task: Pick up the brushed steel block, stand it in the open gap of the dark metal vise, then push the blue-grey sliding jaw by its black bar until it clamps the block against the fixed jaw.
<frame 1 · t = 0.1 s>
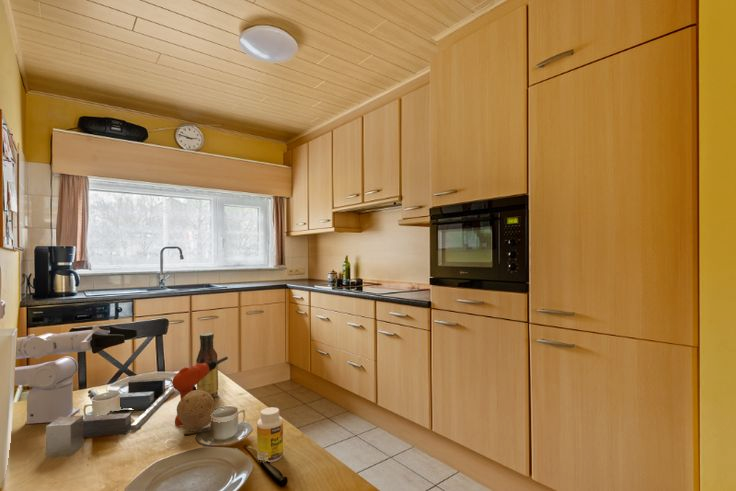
hand: (130, 335, 110), 22 cm above the table, tool horizontal, fingers open, 7 cm apart
vise base: (106, 432, 97), on the table
supplement bottle: (270, 458, 85), on the table
steel block: (65, 451, 89), on the table
sauce bottle: (207, 397, 121), on the table
toy drill: (203, 414, 108), on the table
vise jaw: (140, 394, 117), point 3 cm above the table, slide at 7.0 cm
natural sponge: (196, 430, 99), on the table
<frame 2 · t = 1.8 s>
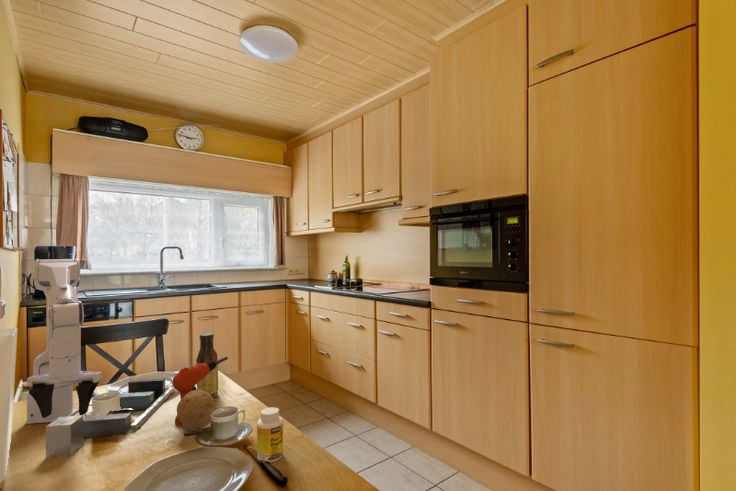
hand: (65, 414, 89), 8 cm above the table, tool pointing down, fingers open, 7 cm apart
nothing on the table moved.
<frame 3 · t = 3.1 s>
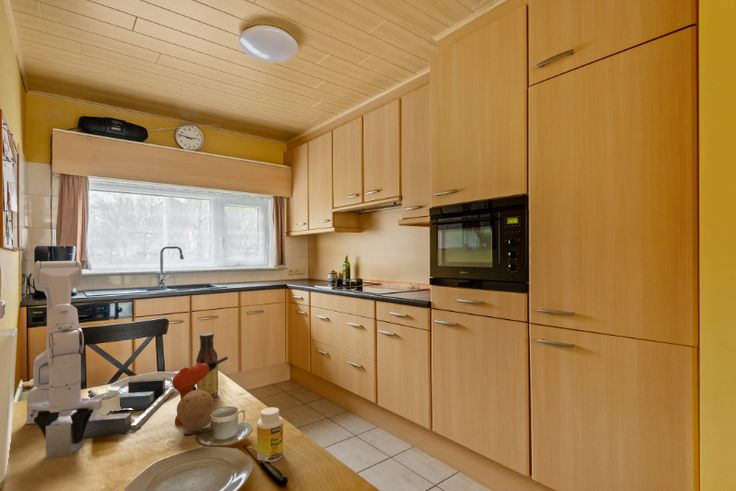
hand: (65, 442, 89), 2 cm above the table, tool pointing down, fingers closed on steel block, 5 cm apart
steel block: (65, 451, 89), on the table, touching gripper
everything else where it was.
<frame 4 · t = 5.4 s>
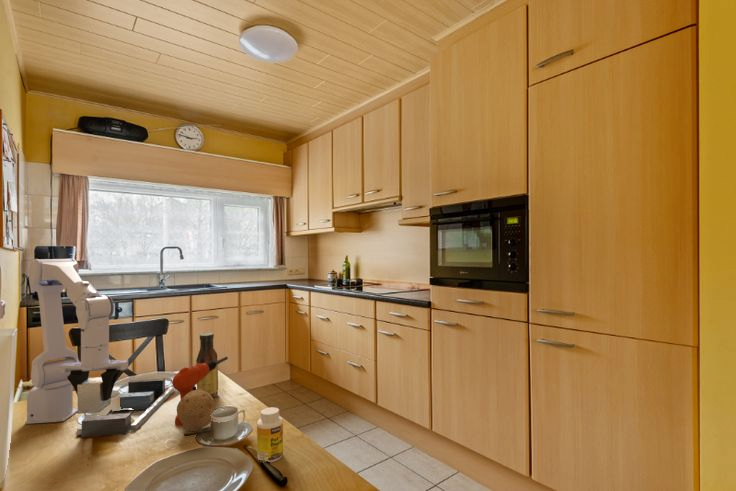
hand: (95, 399, 96), 9 cm above the table, tool pointing down, fingers closed on steel block, 5 cm apart
steel block: (94, 408, 96), point 7 cm above the table, touching gripper
everything else where it was.
when the fingers open (3 cm above the table, at t = 7.7 s): steel block drops 1 cm, resting in vise base.
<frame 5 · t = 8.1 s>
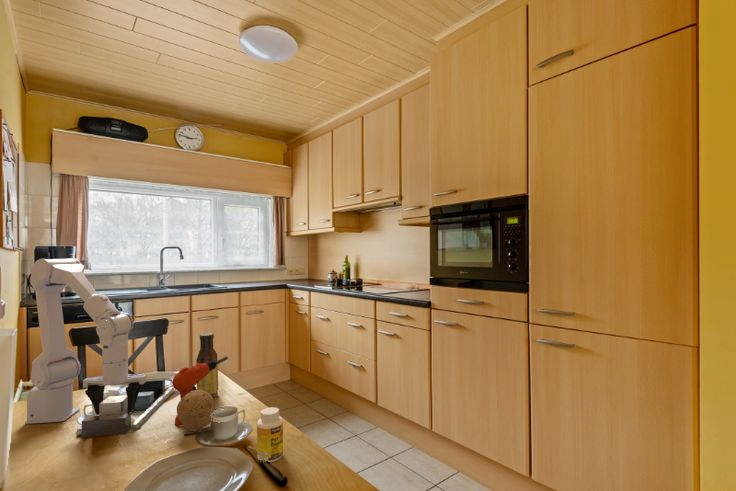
hand: (115, 412, 102), 3 cm above the table, tool pointing down, fingers open, 7 cm apart
steel block: (114, 426, 101), resting in vise base
everything else where it was.
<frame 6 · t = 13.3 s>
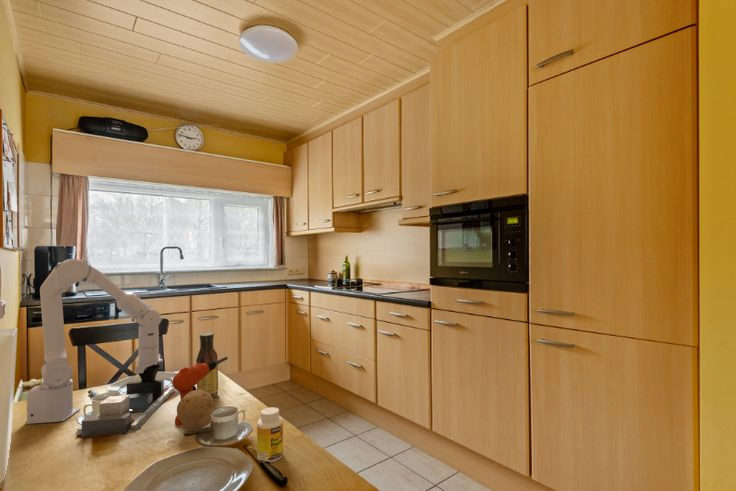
hand: (148, 389, 123), 2 cm above the table, tool pointing down, fingers closed
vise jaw: (138, 395, 115), point 3 cm above the table, slide at 5.8 cm, touching gripper
everything else where it was.
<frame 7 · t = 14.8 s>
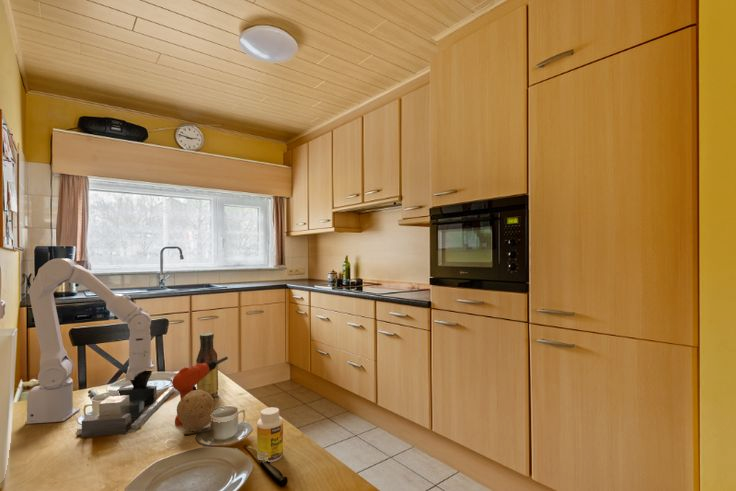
hand: (140, 396, 117), 2 cm above the table, tool pointing down, fingers closed
steel block: (114, 426, 101), resting in vise base, touching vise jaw
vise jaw: (129, 403, 110), point 3 cm above the table, slide at 0.0 cm, touching gripper, steel block
everything else where it was.
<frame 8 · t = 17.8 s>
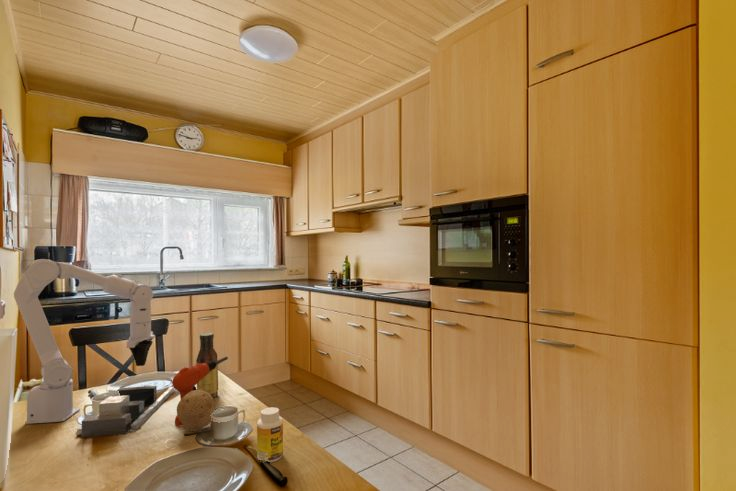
hand: (140, 365, 122), 10 cm above the table, tool pointing down, fingers closed
steel block: (114, 426, 101), resting in vise base
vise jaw: (129, 403, 110), point 3 cm above the table, slide at 0.0 cm
everything else where it was.
at the end: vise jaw slide at 0.0 cm; steel block 0.3 cm from the target spot, resting in vise base; steel block tilted 0° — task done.
